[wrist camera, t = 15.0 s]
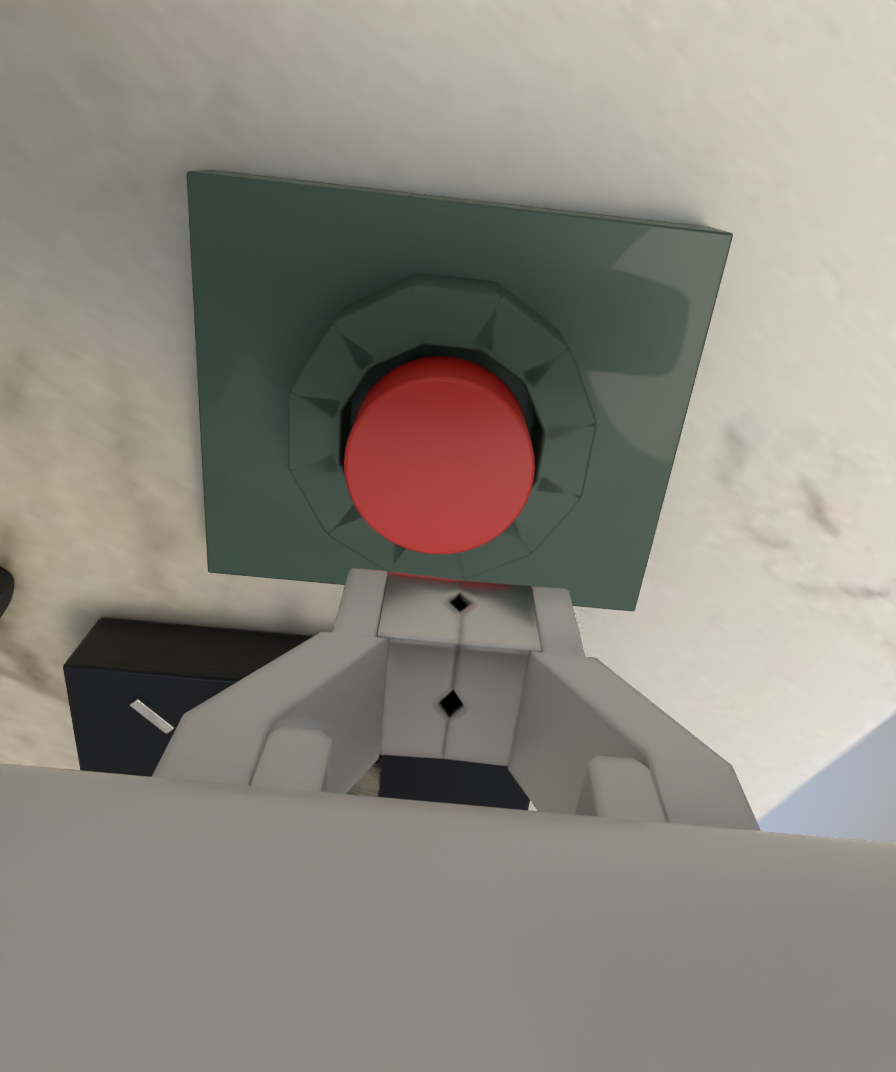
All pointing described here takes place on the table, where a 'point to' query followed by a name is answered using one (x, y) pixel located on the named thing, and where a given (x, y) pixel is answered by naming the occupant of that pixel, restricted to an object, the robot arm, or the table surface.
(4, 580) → the smart home device
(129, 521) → the table surface
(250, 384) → the button box
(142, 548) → the table surface
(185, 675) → the control panel
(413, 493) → the button
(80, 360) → the table surface
